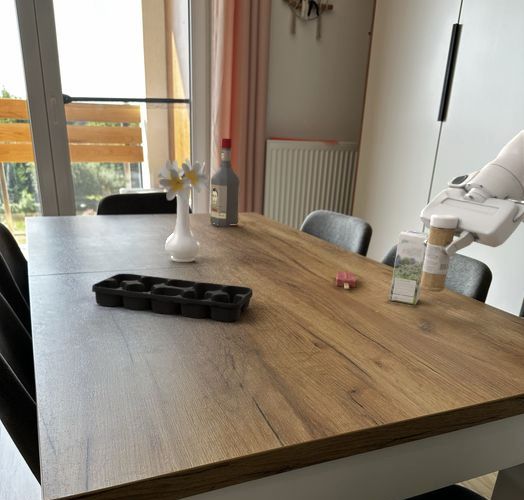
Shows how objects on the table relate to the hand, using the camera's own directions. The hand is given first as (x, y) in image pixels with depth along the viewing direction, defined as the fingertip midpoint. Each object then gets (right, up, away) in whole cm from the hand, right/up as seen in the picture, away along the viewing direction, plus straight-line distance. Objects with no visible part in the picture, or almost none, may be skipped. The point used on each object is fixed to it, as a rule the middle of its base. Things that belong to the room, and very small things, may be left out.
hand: (435, 249), depth 93 cm
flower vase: (-52, +5, +42) cm, 67 cm away
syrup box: (-1, -8, +18) cm, 20 cm away
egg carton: (-48, -10, +6) cm, 50 cm away
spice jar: (0, -7, +3) cm, 8 cm away
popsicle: (-12, -3, +28) cm, 31 cm away
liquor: (-46, +29, +100) cm, 114 cm away
